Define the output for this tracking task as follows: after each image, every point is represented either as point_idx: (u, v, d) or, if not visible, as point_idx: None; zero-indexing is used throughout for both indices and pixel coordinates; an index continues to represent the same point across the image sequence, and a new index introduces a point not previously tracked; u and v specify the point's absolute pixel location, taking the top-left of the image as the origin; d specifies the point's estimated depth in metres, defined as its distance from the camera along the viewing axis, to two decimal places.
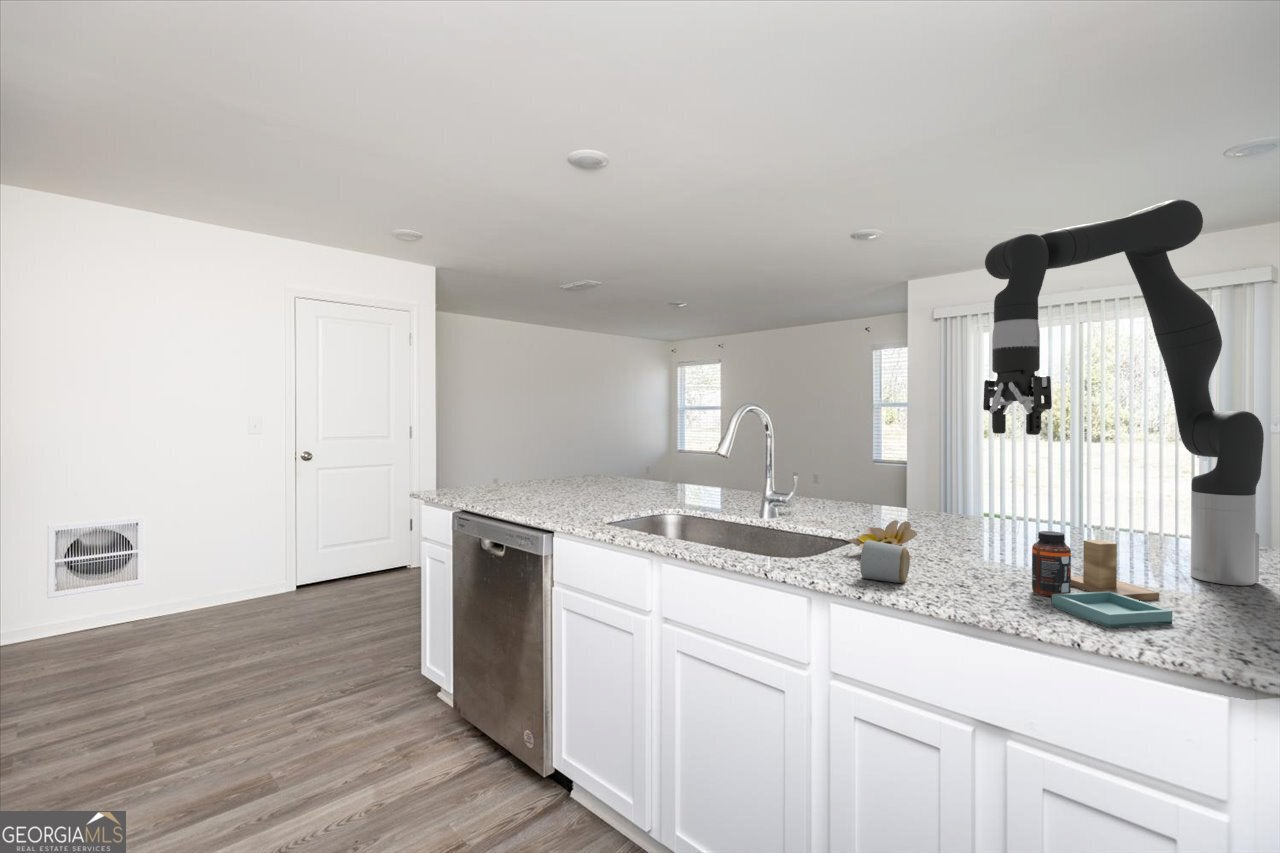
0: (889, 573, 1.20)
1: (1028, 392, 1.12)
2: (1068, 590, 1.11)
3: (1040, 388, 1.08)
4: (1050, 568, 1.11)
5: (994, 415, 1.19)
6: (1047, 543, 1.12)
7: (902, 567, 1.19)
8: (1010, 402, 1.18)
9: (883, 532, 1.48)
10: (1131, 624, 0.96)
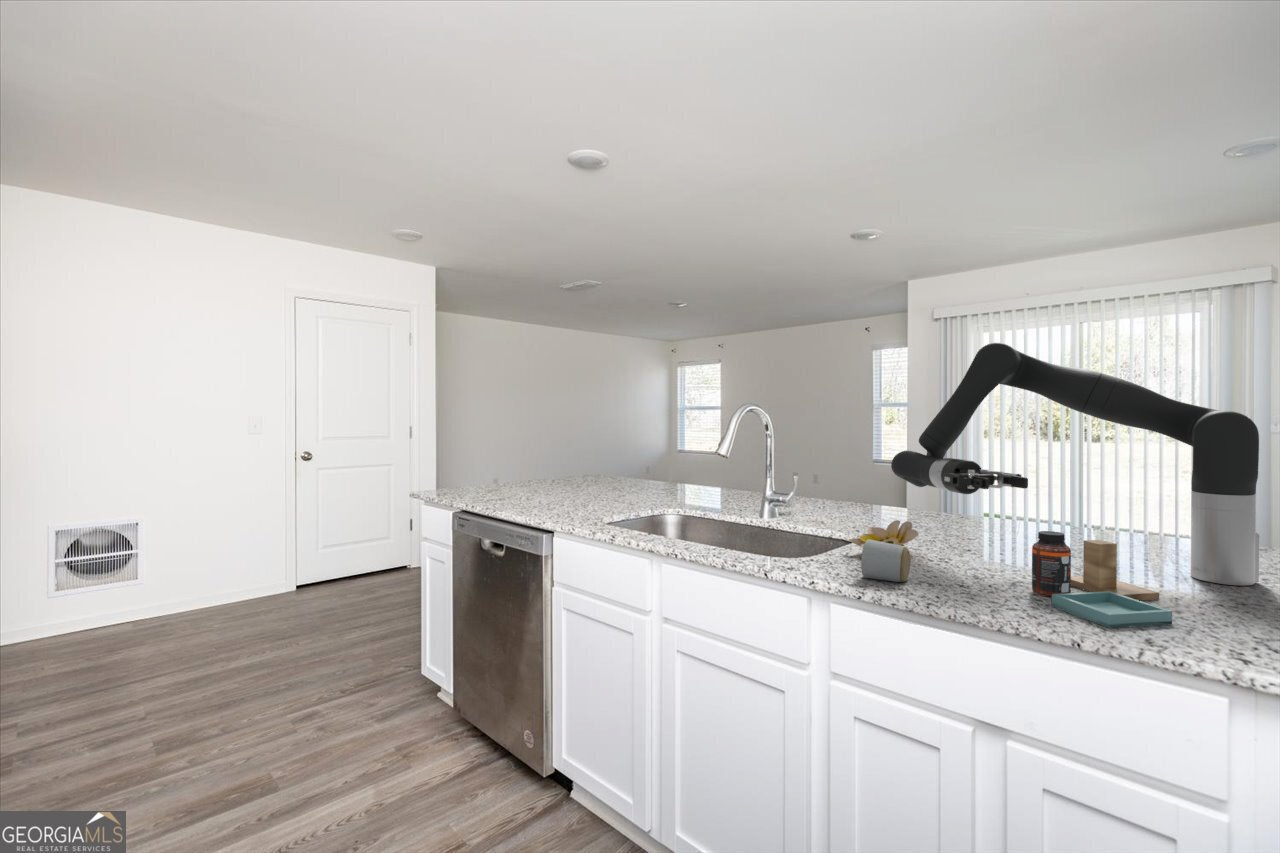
0: (890, 573, 1.21)
1: None
2: (1068, 590, 1.11)
3: (949, 483, 1.31)
4: (1050, 568, 1.11)
5: (1013, 486, 1.28)
6: (1047, 543, 1.12)
7: (903, 566, 1.20)
8: (999, 474, 1.30)
9: (884, 532, 1.48)
10: (1131, 624, 0.96)
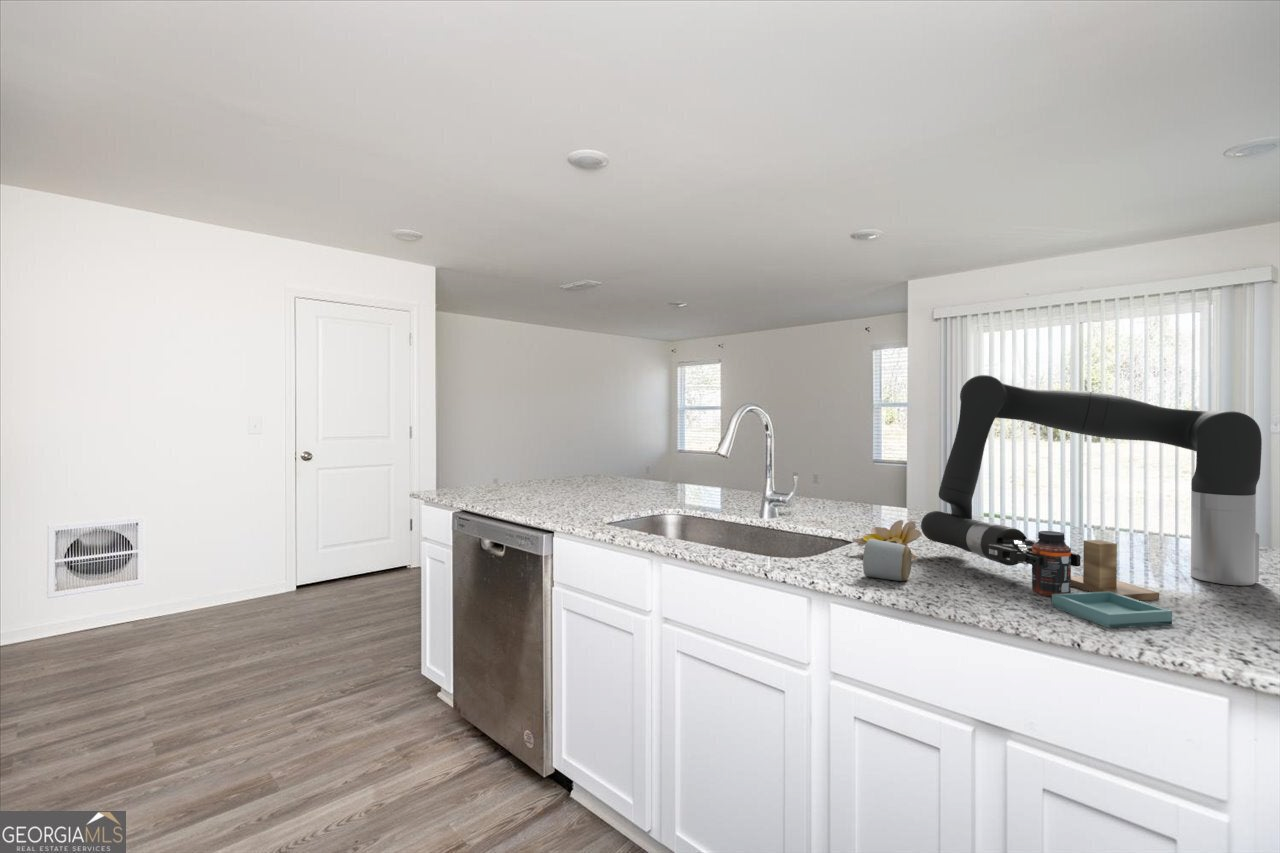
0: (891, 572, 1.22)
1: (1016, 551, 1.18)
2: (1068, 590, 1.11)
3: (997, 557, 1.18)
4: (1050, 568, 1.11)
5: None
6: (1047, 543, 1.12)
7: (904, 565, 1.20)
8: None
9: (888, 532, 1.48)
10: (1131, 624, 0.96)
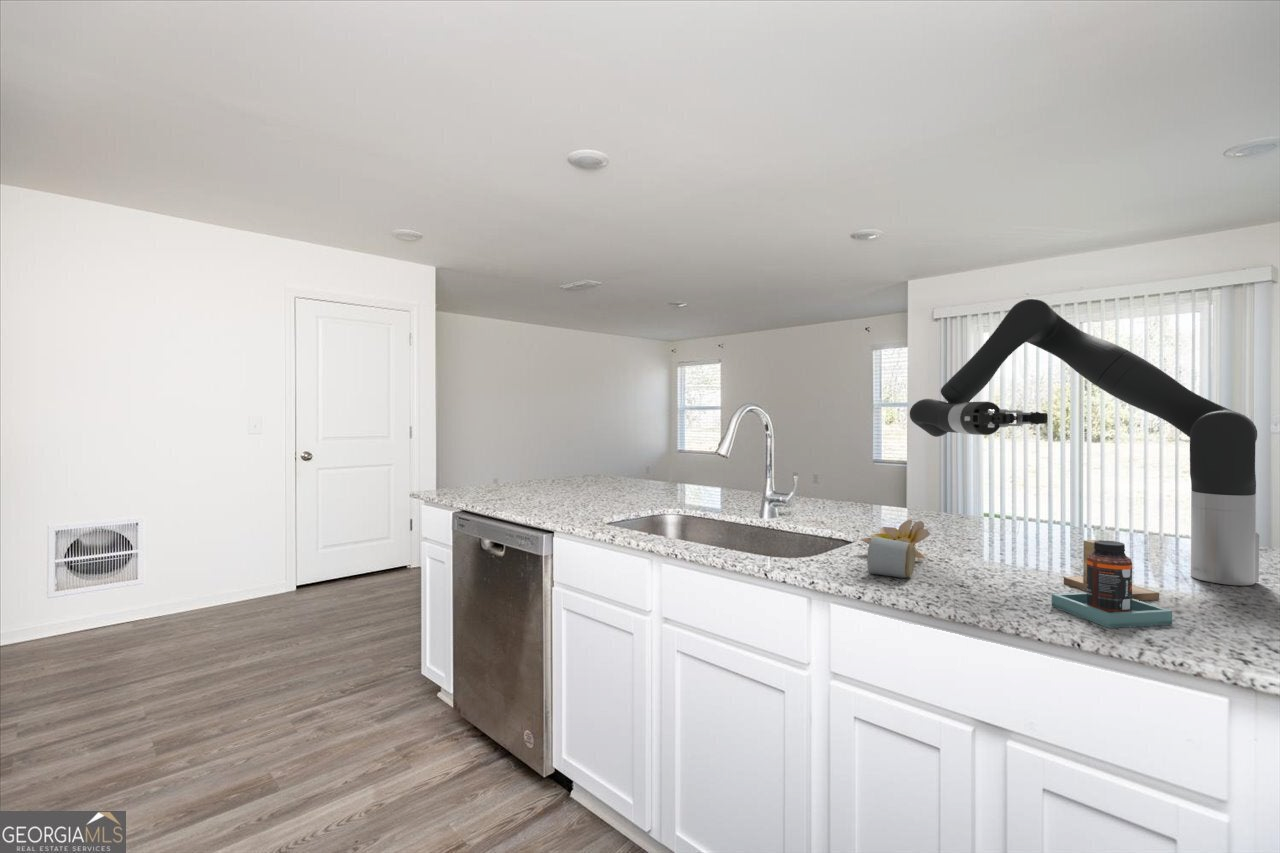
0: (895, 569, 1.24)
1: None
2: (1129, 607, 0.99)
3: (969, 422, 1.34)
4: (1109, 583, 0.99)
5: None
6: (1105, 554, 1.00)
7: (908, 562, 1.23)
8: (1018, 412, 1.33)
9: (896, 532, 1.48)
10: (1131, 624, 0.96)
